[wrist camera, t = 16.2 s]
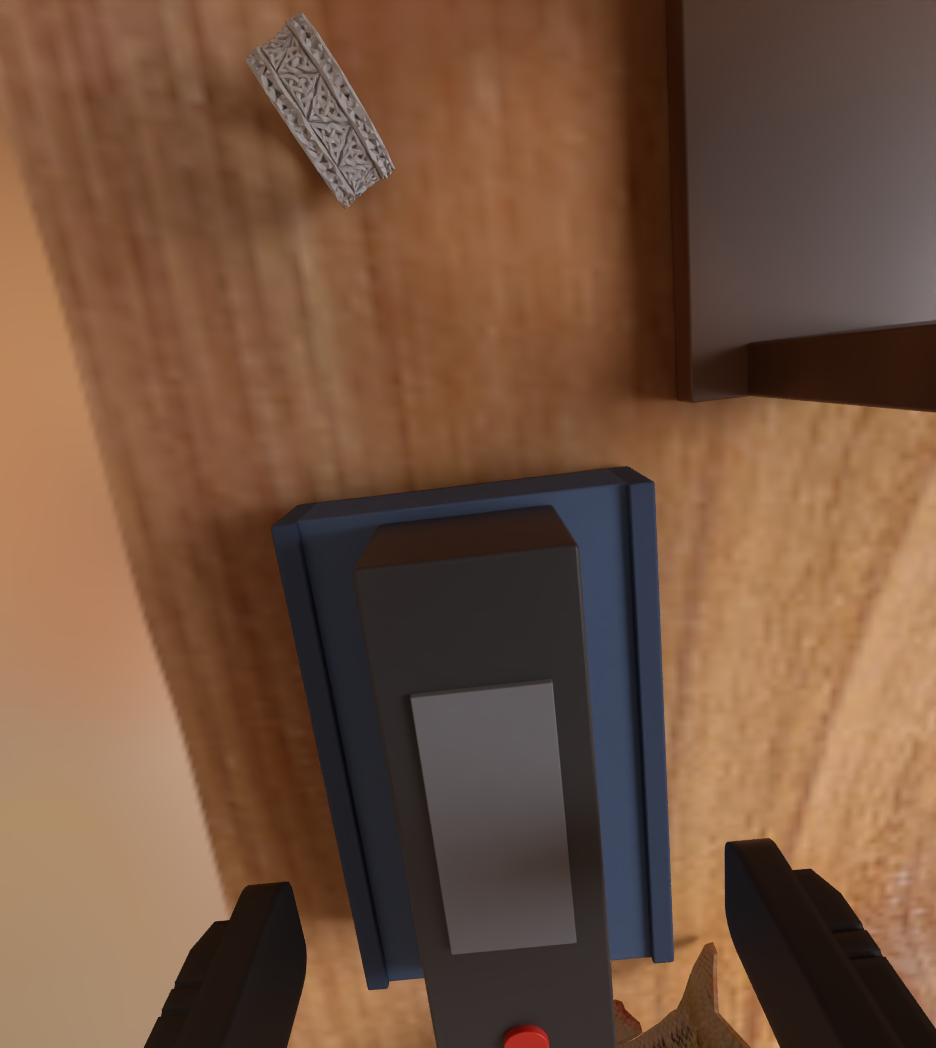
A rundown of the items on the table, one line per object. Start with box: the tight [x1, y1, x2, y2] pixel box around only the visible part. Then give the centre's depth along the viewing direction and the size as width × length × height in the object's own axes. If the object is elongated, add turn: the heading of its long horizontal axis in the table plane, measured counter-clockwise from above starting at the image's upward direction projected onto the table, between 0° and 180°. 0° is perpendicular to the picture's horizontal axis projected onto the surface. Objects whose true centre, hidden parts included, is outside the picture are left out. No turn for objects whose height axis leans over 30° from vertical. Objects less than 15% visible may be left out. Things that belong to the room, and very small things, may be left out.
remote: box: [352, 505, 617, 1048], centre depth 13 cm, size 13×4×3 cm, turn 7°
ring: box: [246, 12, 395, 209], centre depth 12 cm, size 3×1×3 cm, turn 34°
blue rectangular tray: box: [271, 466, 674, 990], centre depth 16 cm, size 14×9×2 cm, turn 7°
